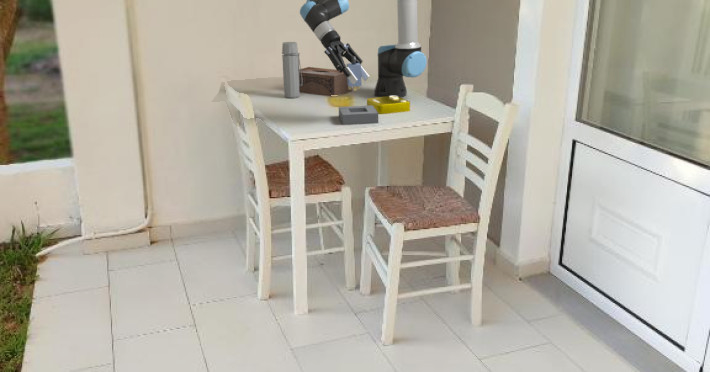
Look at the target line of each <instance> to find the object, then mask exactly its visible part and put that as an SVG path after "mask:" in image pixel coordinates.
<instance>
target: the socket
mask: <svg viewBox="0 0 710 372" xmlns="http://www.w3.org/2000/svg"><path fill="white" fill-rule="evenodd" d="M338 118H339V120H340V122H341V124H342V125H343V126H346V125H347V126H349V125H367V124H370V125H371V124H379V114H378V112H377V111H376V109H375V108H374V107H373V106H372V105H370V106H367V105H351V106H338Z"/></svg>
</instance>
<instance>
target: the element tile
mask: <svg viewBox="0 0 710 372" xmlns="http://www.w3.org/2000/svg"><path fill="white" fill-rule="evenodd" d="M370 105H372V106H373V107H374V108H375V109H376V111H377V112H378V115H386V114H387V115H388V114H396V113H397V114H398V113H406V112H411V101H410V100H407V99H406V98H403V97H399V96H386V97H378V96H376V97H369V98H366V106H370Z"/></svg>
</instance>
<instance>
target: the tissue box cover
mask: <svg viewBox="0 0 710 372" xmlns="http://www.w3.org/2000/svg"><path fill="white" fill-rule="evenodd" d="M339 71H340V70H339ZM339 71H337V70H336V69H335V68H323V67H313V66H307V67H304V68H301V72H300V68H299V84H300V85H301V83H302V86H300V85H299V94H300V93H302V94H308V95H317V96H326V97H332V96H331V95H339V94H342V95H345V94H348V93H352V92H353V89H352V90H349V89H348V85H347V77H346V75H345V74H344V73H343V72H342V73H340V72H339ZM301 73H302V79H301ZM302 80H303V82H302ZM339 96H340V95H339Z"/></svg>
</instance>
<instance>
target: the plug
mask: <svg viewBox="0 0 710 372" xmlns="http://www.w3.org/2000/svg"><path fill="white" fill-rule="evenodd" d="M361 65H362V63H361V64H360V63H356V56H352V63H351V62H350V63H349V62H348V63H346V68H347V67H349V69H350V70H351V71H352V73H353V74H354V75H355V77H356V78H357V79H358V80H357V81H356V83H355V84H352V83H351V81H350V80H349V79H348V77H347V85H348V89H349V90H352V92H357V90H360V87H362V77H361Z"/></svg>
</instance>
